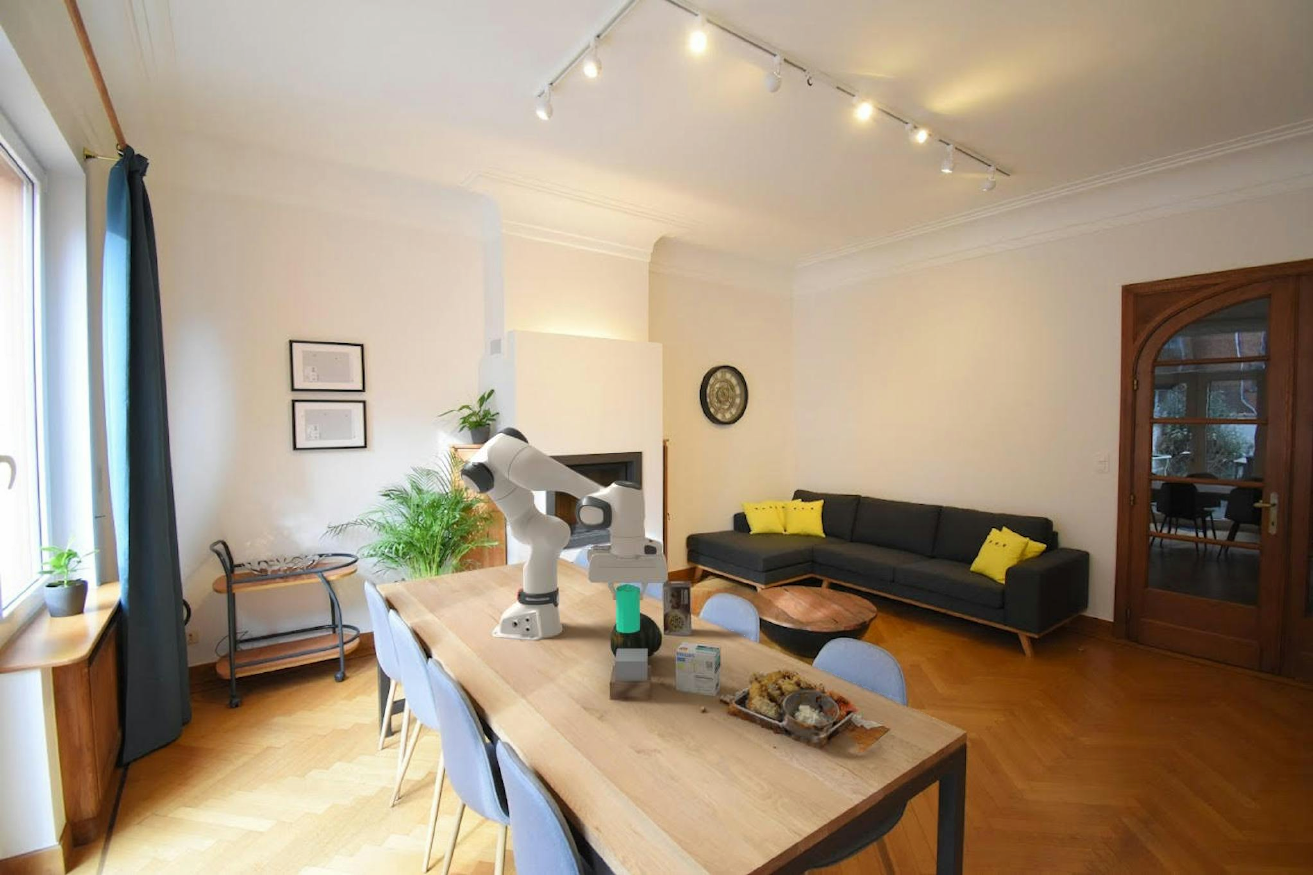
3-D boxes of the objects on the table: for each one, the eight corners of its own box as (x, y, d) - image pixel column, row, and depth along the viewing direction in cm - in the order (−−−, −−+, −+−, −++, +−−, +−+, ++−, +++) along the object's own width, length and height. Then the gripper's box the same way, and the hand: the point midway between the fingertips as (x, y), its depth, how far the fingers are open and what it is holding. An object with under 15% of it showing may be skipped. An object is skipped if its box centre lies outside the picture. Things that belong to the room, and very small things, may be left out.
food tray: (890, 732, 131) (891, 685, 130) (832, 781, 113) (832, 727, 113) (762, 681, 156) (762, 642, 156) (698, 715, 138) (698, 671, 138)
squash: (600, 665, 166) (599, 612, 165) (637, 649, 177) (636, 600, 176) (635, 680, 156) (635, 624, 156) (672, 662, 167) (672, 610, 166)
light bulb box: (721, 686, 152) (721, 645, 152) (715, 697, 146) (715, 655, 146) (682, 680, 156) (682, 640, 155) (675, 691, 149) (674, 650, 149)
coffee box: (691, 628, 194) (691, 580, 193) (690, 636, 187) (690, 586, 187) (664, 628, 195) (664, 580, 194) (662, 635, 188) (662, 585, 188)
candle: (615, 625, 151) (615, 579, 150) (638, 624, 152) (638, 578, 151) (617, 633, 145) (617, 585, 144) (641, 632, 146) (641, 584, 145)
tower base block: (609, 702, 145) (609, 682, 144) (613, 683, 155) (613, 665, 154) (650, 702, 144) (649, 682, 144) (651, 684, 154) (651, 665, 154)
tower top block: (615, 681, 145) (614, 661, 145) (617, 667, 153) (617, 648, 153) (647, 680, 145) (647, 661, 145) (647, 667, 153) (647, 648, 153)
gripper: (585, 547, 145) (585, 603, 145) (667, 548, 144) (667, 603, 145) (588, 542, 151) (589, 595, 152) (667, 542, 150) (667, 595, 151)
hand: (628, 599), depth 148 cm, fingers closed on candle, 5 cm apart
